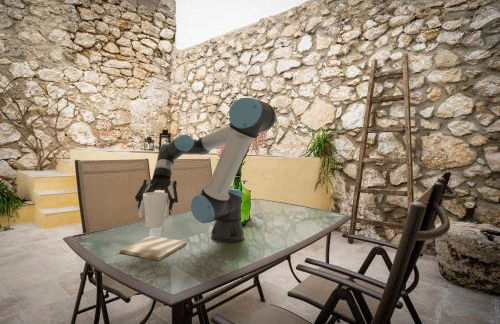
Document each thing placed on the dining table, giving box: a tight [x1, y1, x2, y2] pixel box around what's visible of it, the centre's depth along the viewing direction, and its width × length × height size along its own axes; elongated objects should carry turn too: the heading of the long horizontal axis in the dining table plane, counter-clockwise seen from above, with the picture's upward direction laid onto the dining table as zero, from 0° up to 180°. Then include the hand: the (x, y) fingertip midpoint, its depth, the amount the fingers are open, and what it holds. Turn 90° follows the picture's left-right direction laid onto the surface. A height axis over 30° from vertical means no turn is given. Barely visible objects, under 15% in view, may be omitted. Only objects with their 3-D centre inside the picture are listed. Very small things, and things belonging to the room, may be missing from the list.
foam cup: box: [143, 191, 169, 229], centre depth 107 cm, size 10×9×13 cm
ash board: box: [119, 235, 188, 261], centre depth 108 cm, size 18×18×1 cm
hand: (153, 216), depth 104 cm, fingers closed on foam cup, 9 cm apart
